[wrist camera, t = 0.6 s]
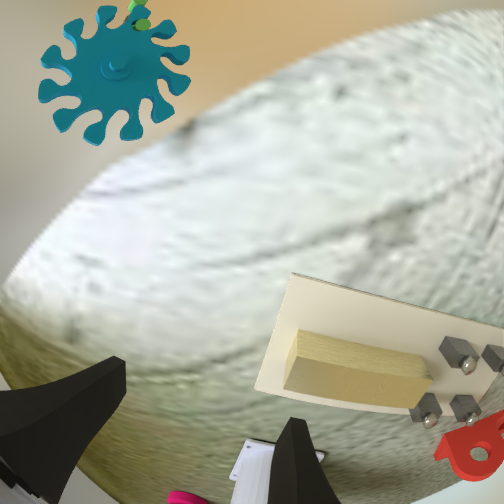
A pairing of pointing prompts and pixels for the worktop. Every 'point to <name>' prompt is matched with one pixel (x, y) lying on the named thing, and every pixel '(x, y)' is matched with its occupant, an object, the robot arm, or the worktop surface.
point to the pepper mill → (184, 498)
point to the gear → (115, 71)
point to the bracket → (468, 438)
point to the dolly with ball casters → (466, 360)
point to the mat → (376, 339)
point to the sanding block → (354, 372)
